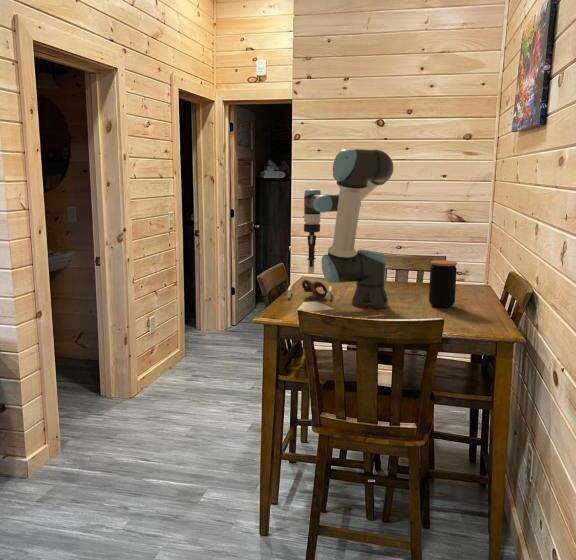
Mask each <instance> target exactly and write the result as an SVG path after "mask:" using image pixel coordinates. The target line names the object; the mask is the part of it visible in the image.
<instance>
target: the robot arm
mask: <svg viewBox="0 0 576 560" xmlns="http://www.w3.org/2000/svg"><path fill="white" fill-rule="evenodd" d="M393 173H394V163H393V159H392V158H391V157H390V155H389V154H388V153H386V152H385V151H383V150H380V149H366V148H365V149H363V148H362V149H361V148H360V149H357V148H349V149H347V148H346V149H341V150H340V151H339V152H337V154H336V156H335V158H334V161H333V163H332V176H333V179H334V181H336V185H337V186H338V187H339V194H322V193H321V190H320V189H306V190H304V196H303V201H304V203H303V205H304V207H303V211H304V212H303V213H304V215H303V216H302V218H303V222H304V224H303V232H305V233H308V235H307V237H306V239H307V246H308V258H306V260H307V262H308V263H307V264H308V265H307V266H308V269H307V273H308V274H311V275H313V274H315V260H316V259H317V258H316V257H315V251H316V250H315V246H316V241H317V235H315V233H319V232H320V231H321V224H320V223H321V214H322V213H328V212H329V213H331V212H333V213H334V212H336V216H335V225H334V232H333V233H334V234H333V241H332V245H331V246H330V247H329V248H328V251H327V253H325V254H324V255H322V256H321V263H320V264H321V271H322V274H323V277H324V279H325V281H326V282H328V283H330V284H340V283H341V284H342V283H345V284H346V283H356V285H355V286H356V287H355V290H354V293H353V295H352V297H351V306H353V307H356V308H360V309H372V310H379V309H381V310H383V309H385V308H388V307H389V298H388V296H387V292H386V289H385V282H386V280H385V278H386V256H385V254H384V253H383V252H380V251H375V250H369V249H357V250H356V249H355V243H356V237H357V230H358V225H359V224H358V222H359V218H360V211H361V210H360V209H361V206H362V201H363V200H364V199H365V198H366V197H368V196H369V195H370V194H371V193H372V192H373V191H374V190H375V189H376V188H378V187H379V186H382V185H385V184H386V183H387V182H388V181H389V180H390V179H391V177H392V175H393Z"/></svg>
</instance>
